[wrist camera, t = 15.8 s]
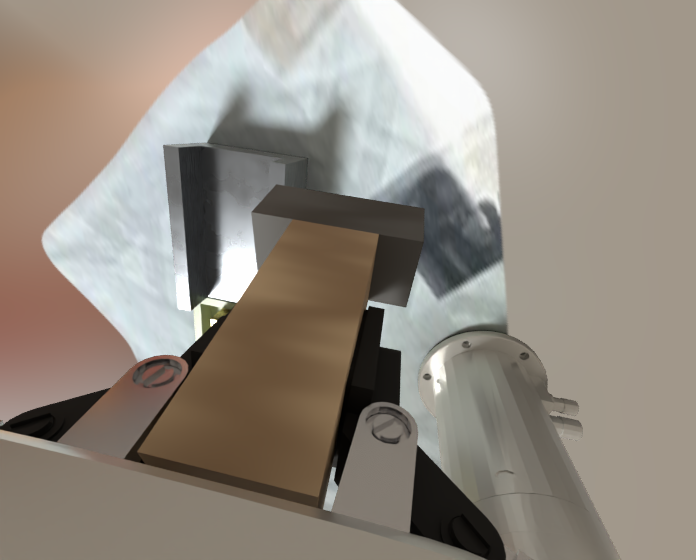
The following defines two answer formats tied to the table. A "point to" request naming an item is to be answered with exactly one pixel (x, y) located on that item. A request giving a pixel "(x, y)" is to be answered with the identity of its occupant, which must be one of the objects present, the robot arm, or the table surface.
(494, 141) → the table surface
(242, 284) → the channel
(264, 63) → the table surface
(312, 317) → the t-shaped hammer
